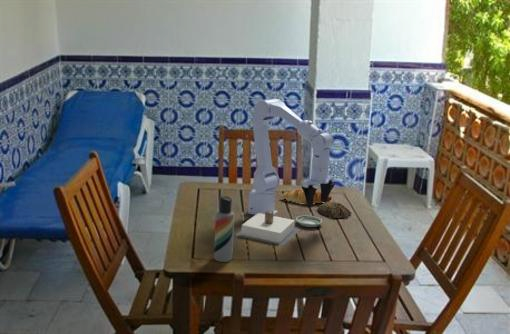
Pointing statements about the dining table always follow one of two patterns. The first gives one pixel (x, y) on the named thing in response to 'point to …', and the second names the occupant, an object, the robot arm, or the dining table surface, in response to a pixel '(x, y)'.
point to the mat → (271, 241)
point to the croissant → (302, 196)
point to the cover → (268, 227)
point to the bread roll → (334, 210)
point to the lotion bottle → (224, 230)
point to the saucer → (309, 221)
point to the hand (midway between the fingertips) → (316, 203)
